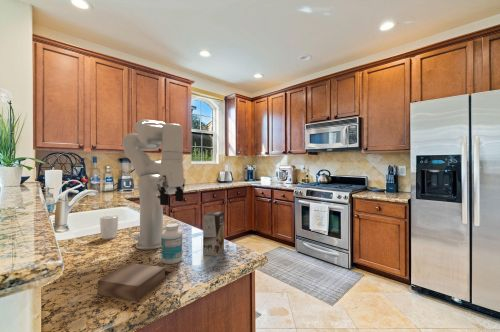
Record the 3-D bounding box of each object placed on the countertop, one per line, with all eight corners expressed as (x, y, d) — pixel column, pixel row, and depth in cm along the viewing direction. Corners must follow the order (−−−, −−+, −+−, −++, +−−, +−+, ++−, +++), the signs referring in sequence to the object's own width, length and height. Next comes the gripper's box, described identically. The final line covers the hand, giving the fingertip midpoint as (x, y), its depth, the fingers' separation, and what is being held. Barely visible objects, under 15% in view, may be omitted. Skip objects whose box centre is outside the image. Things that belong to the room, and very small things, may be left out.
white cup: (121, 236, 120) (121, 216, 120) (104, 240, 113) (105, 219, 113) (113, 234, 124) (113, 214, 124) (96, 237, 117) (96, 217, 117)
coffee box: (217, 256, 94) (217, 215, 94) (202, 255, 95) (202, 214, 95) (224, 248, 103) (224, 211, 103) (210, 247, 104) (210, 210, 104)
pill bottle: (164, 257, 93) (164, 222, 93) (183, 256, 94) (183, 222, 94) (158, 265, 85) (158, 227, 85) (179, 264, 86) (179, 227, 86)
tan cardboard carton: (97, 297, 66) (97, 280, 66) (146, 267, 85) (146, 254, 85) (137, 304, 63) (137, 286, 63) (178, 272, 82) (178, 257, 82)
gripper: (176, 158, 99) (175, 199, 99) (148, 156, 82) (148, 206, 82) (192, 158, 97) (192, 200, 97) (167, 156, 80) (167, 207, 80)
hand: (172, 202), depth 89 cm, fingers open, 9 cm apart
